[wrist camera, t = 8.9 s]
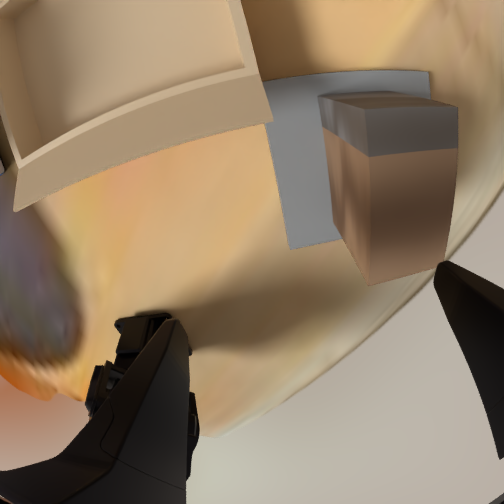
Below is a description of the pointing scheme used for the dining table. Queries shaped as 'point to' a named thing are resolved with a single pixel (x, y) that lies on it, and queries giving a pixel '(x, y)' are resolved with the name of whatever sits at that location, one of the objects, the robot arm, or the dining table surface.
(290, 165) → the felt pad
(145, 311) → the dining table surface
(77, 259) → the dining table surface
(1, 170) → the ink cartridge box
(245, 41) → the beige tray
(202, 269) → the dining table surface
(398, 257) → the walnut block
